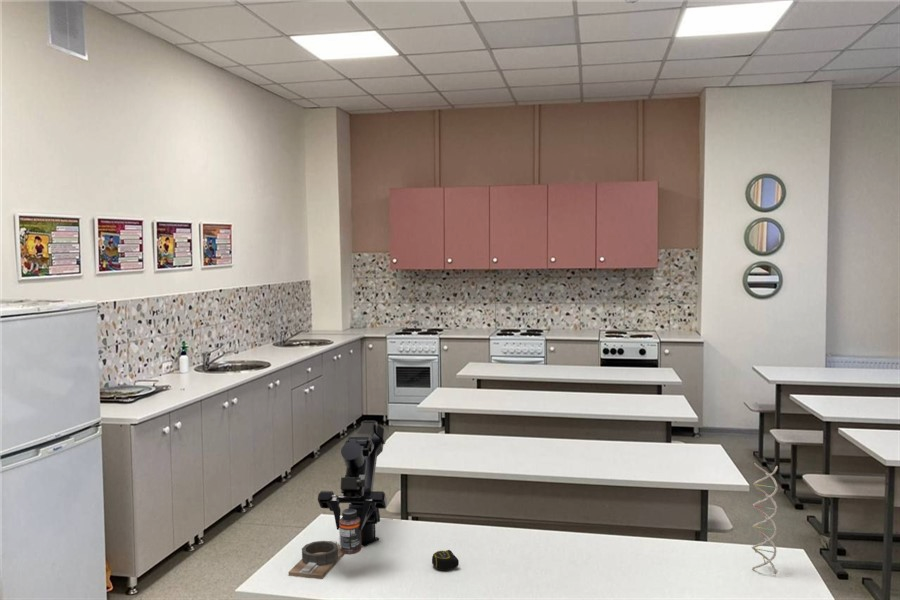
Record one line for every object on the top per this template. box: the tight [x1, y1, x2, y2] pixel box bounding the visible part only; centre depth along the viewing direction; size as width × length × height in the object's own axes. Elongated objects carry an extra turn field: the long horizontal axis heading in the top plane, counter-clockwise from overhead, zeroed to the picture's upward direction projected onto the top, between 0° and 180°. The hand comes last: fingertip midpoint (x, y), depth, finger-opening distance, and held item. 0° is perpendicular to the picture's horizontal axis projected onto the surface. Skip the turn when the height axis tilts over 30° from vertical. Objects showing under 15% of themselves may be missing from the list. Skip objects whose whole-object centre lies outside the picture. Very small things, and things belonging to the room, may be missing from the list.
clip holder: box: [288, 540, 345, 580], centre depth 203 cm, size 20×10×4 cm, turn 167°
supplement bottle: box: [338, 508, 363, 555], centre depth 194 cm, size 6×6×11 cm
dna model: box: [751, 462, 779, 574], centre depth 192 cm, size 7×6×30 cm
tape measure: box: [431, 549, 460, 571], centre depth 199 cm, size 7×7×4 cm
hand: (349, 529), depth 193 cm, fingers closed on supplement bottle, 6 cm apart
